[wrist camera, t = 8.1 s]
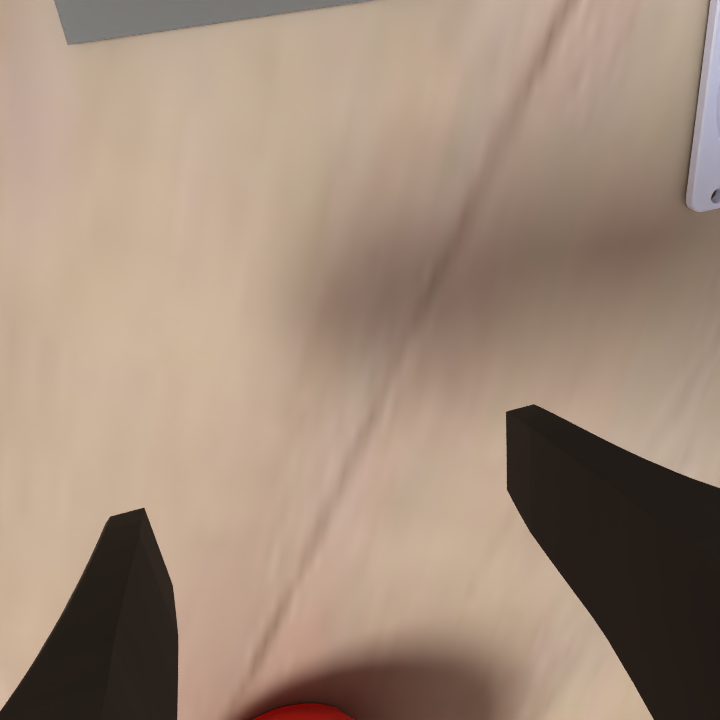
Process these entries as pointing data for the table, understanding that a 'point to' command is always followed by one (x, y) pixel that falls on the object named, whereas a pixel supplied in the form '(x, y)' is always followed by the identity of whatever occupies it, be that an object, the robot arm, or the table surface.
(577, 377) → the table surface
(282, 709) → the ceramic cup
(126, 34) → the mat
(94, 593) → the robot arm
